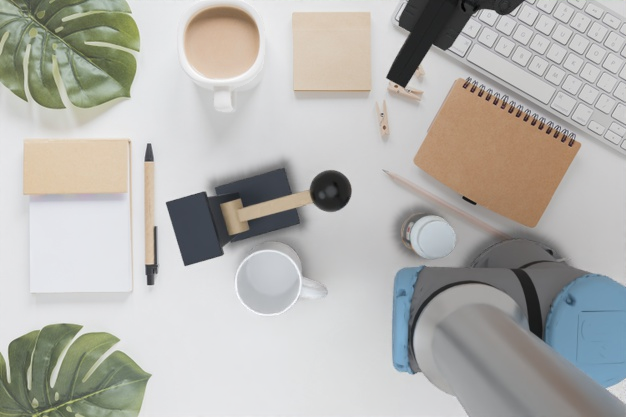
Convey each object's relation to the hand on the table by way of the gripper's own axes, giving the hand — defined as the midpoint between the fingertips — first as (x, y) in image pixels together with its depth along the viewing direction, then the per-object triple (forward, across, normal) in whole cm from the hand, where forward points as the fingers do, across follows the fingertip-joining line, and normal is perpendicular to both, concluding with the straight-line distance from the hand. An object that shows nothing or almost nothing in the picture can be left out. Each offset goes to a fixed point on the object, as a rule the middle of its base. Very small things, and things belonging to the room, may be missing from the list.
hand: (399, 73), depth 38 cm
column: (+39, +9, -14) cm, 42 cm away
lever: (+17, +2, 0) cm, 17 cm away
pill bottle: (+33, -16, -22) cm, 43 cm away
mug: (+43, -2, -12) cm, 45 cm away
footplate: (+38, +6, -16) cm, 42 cm away
